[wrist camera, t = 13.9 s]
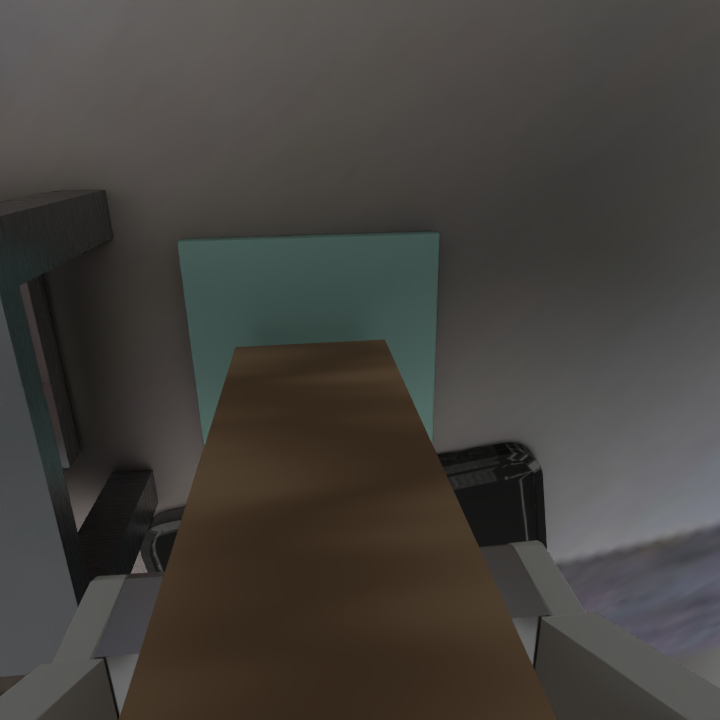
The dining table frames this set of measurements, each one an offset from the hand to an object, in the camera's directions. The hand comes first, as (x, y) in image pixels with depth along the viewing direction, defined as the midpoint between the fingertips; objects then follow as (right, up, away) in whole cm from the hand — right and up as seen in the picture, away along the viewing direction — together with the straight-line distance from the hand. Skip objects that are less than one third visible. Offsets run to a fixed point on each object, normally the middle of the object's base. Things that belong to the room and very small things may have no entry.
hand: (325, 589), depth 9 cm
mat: (-1, +4, +10) cm, 11 cm away
